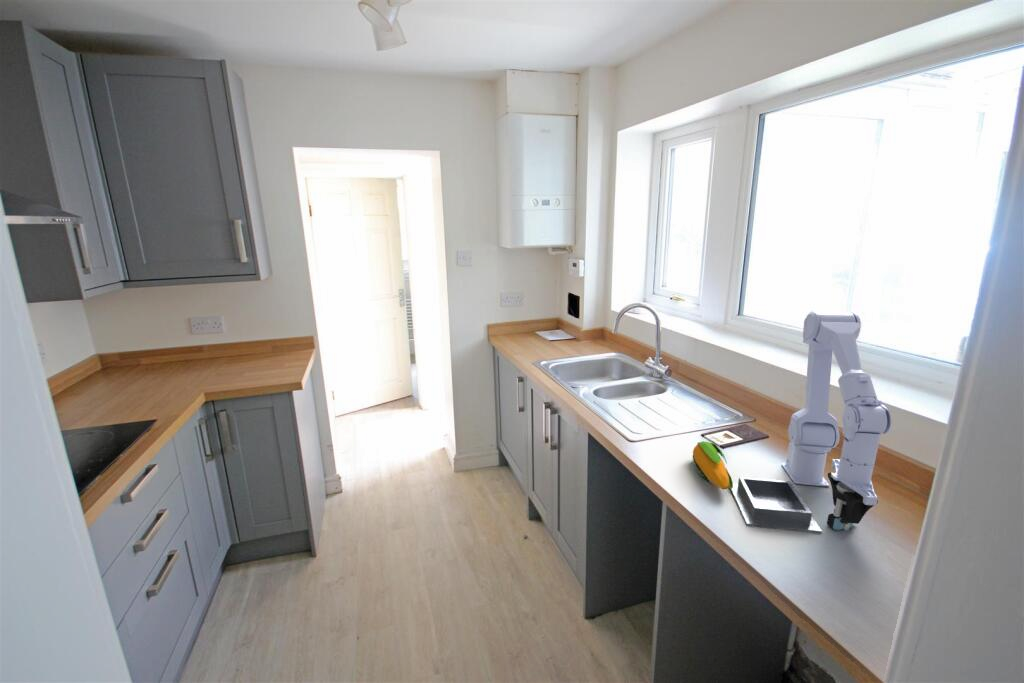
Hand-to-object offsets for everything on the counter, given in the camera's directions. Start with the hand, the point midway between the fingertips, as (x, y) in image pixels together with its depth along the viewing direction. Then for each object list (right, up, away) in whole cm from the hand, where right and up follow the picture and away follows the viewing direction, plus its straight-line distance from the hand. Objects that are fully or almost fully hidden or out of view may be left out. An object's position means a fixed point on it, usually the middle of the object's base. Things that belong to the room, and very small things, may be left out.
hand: (845, 513), depth 99 cm
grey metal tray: (-12, -1, +8) cm, 14 cm away
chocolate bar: (-4, +8, +42) cm, 43 cm away
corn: (-20, +2, +21) cm, 29 cm away
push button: (0, -3, +1) cm, 3 cm away
